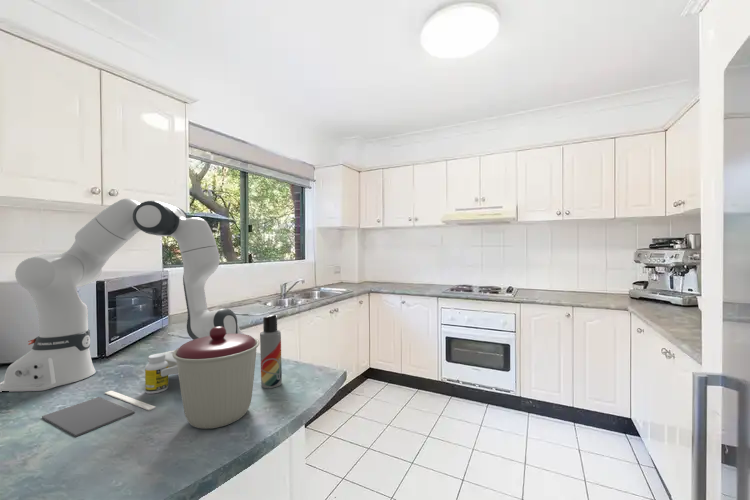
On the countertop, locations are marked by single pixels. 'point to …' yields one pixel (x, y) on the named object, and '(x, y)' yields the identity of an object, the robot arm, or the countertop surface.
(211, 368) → the canister
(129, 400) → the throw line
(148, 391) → the supplement bottle
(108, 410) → the mat
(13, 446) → the countertop surface
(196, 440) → the countertop surface
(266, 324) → the lotion bottle
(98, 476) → the countertop surface
